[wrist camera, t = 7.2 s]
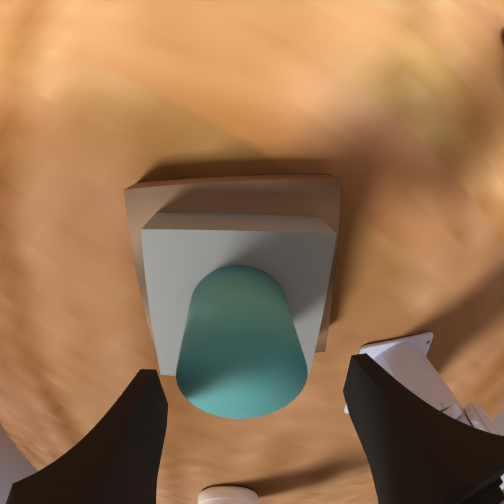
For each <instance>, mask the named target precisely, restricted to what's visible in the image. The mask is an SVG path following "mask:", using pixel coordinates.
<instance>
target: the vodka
mask: <svg viewBox="0 0 504 504" xmlns="http://www.w3.org/2000/svg"><path fill="white" fill-rule="evenodd" d="M198 504H259V501H258V496H257V494H256V493H255V492H254V491H253V490H250V489H248V488H245V487H240V486H215V487H210V488H207V489H205V490H203V491H201V492H200V494H199V495H198Z"/></svg>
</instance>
